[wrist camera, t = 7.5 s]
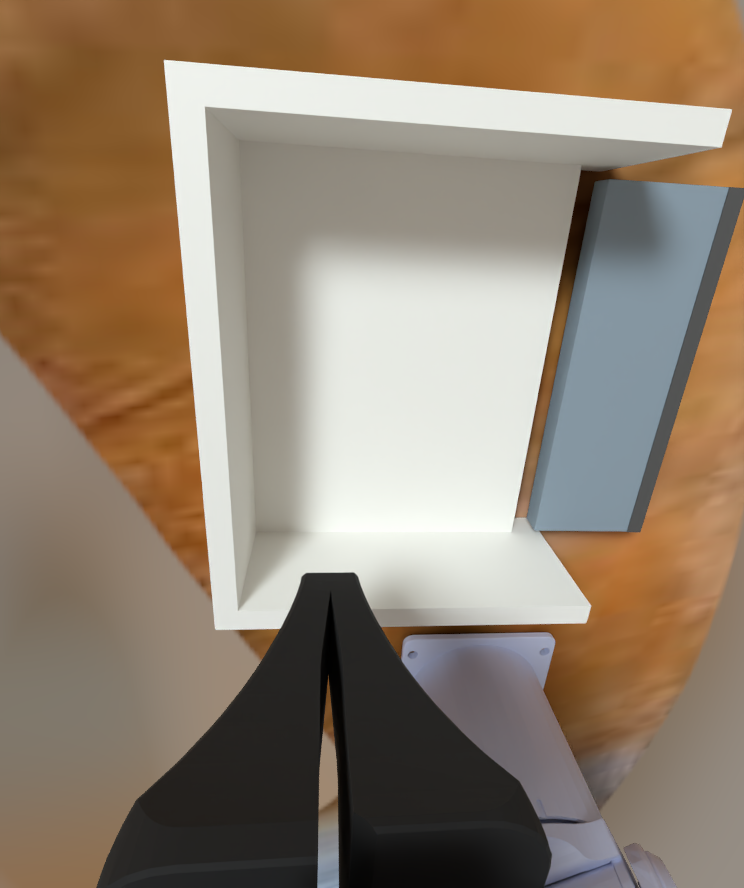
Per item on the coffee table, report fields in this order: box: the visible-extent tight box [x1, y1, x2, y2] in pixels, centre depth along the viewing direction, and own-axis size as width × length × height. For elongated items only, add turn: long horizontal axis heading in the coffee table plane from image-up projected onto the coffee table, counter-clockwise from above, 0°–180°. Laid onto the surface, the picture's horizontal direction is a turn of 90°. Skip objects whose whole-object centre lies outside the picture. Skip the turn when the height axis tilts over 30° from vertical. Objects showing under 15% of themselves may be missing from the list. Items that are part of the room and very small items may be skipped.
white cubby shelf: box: [164, 60, 732, 630], centre depth 17 cm, size 16×13×6 cm
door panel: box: [527, 179, 744, 532], centre depth 20 cm, size 14×1×5 cm
